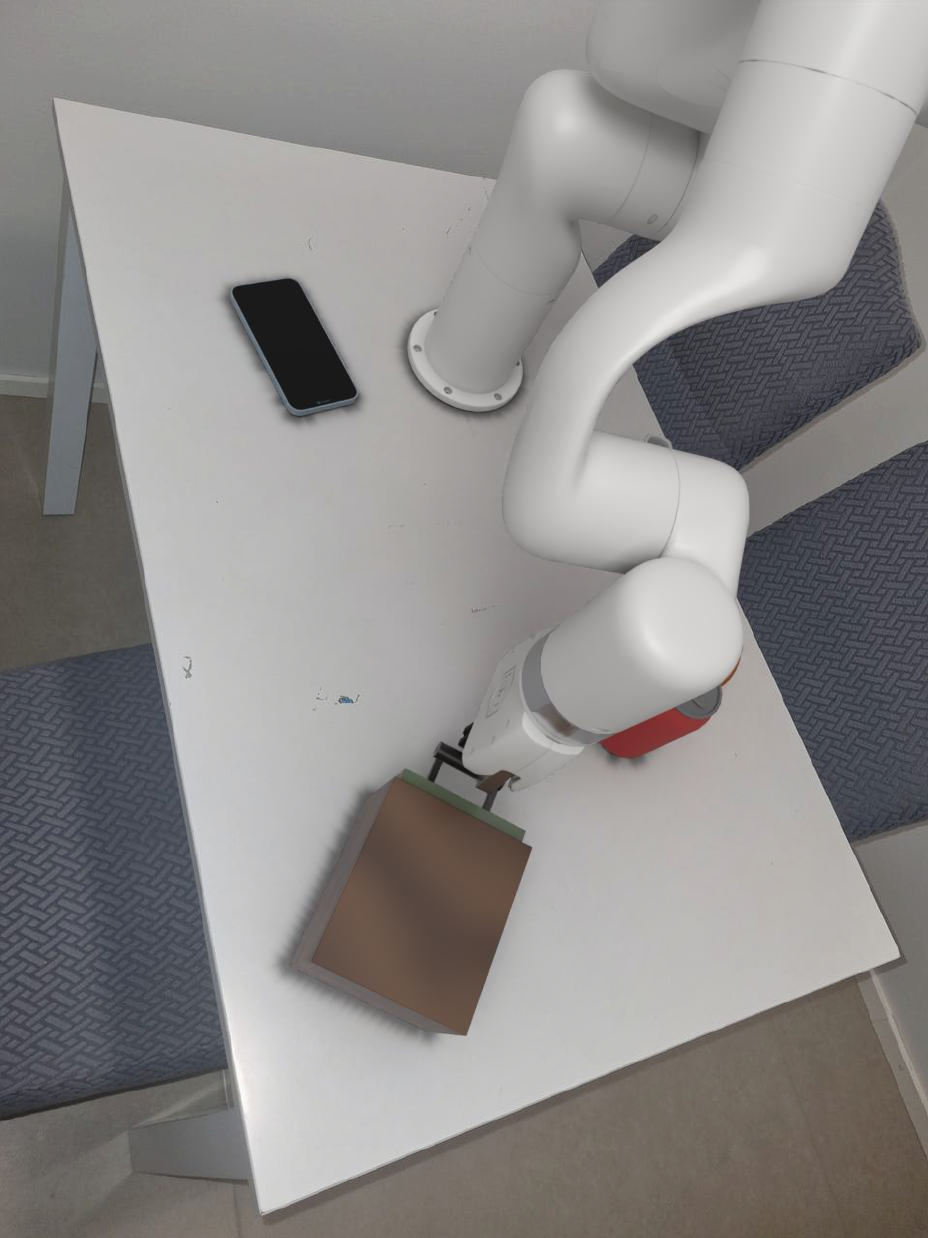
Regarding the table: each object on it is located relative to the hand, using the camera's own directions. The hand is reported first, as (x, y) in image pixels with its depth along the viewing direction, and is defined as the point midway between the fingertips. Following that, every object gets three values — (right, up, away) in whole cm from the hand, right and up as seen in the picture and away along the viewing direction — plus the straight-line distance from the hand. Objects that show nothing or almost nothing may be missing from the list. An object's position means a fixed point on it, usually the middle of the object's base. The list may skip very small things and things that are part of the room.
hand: (477, 745), depth 70 cm
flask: (+14, +23, +21) cm, 34 cm away
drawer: (-5, -9, -2) cm, 10 cm away
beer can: (+13, 0, +11) cm, 17 cm away
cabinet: (-6, -12, -3) cm, 14 cm away
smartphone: (-18, +36, +14) cm, 43 cm away
